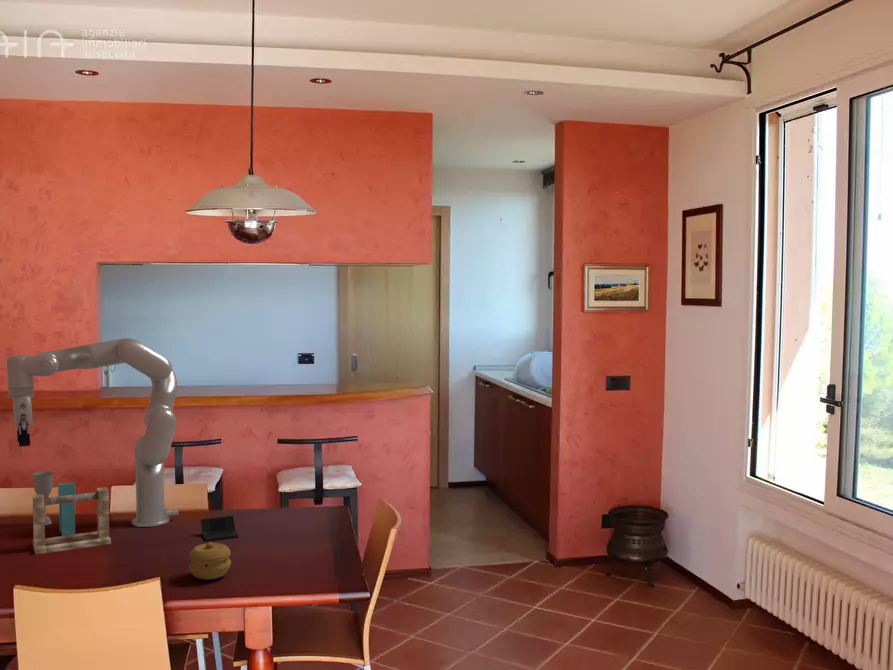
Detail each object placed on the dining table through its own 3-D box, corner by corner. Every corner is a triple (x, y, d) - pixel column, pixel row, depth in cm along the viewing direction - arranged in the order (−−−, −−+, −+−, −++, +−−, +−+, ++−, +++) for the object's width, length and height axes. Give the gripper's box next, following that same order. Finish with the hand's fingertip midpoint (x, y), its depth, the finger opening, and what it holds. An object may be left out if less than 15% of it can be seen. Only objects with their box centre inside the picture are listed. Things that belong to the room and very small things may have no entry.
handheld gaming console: (208, 538, 261) (205, 510, 266) (200, 547, 265) (198, 520, 270) (241, 537, 267) (238, 510, 273) (234, 546, 272) (230, 519, 277)
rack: (105, 534, 270) (105, 485, 269) (110, 543, 260) (110, 492, 259) (32, 544, 259) (31, 492, 258) (35, 554, 249) (34, 500, 248)
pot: (237, 578, 227) (237, 544, 227) (196, 587, 220) (196, 551, 220) (223, 567, 237) (222, 534, 236) (183, 575, 230) (182, 541, 230)
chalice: (59, 521, 287) (58, 471, 286) (48, 526, 280) (47, 475, 279) (40, 520, 287) (39, 471, 287) (28, 525, 281) (27, 475, 280)
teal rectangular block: (74, 528, 277) (73, 480, 277) (76, 535, 270) (76, 485, 269) (58, 530, 275) (57, 481, 274) (60, 537, 267) (59, 487, 266)
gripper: (35, 394, 257) (38, 446, 258) (32, 389, 272) (34, 438, 273) (9, 396, 254) (12, 449, 255) (7, 391, 268) (9, 441, 269)
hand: (23, 443), depth 264 cm, fingers open, 9 cm apart
